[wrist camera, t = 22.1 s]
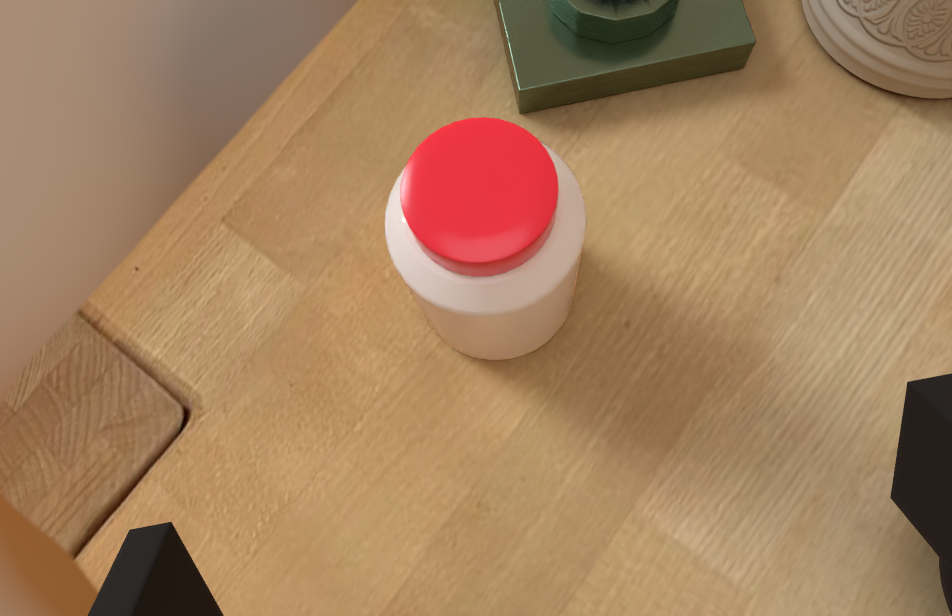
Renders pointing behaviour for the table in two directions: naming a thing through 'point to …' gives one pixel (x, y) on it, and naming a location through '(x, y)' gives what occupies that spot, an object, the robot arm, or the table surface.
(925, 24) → the jar
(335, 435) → the table surface
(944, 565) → the decorative ball
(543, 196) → the pill bottle
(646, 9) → the button box
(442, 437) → the table surface
